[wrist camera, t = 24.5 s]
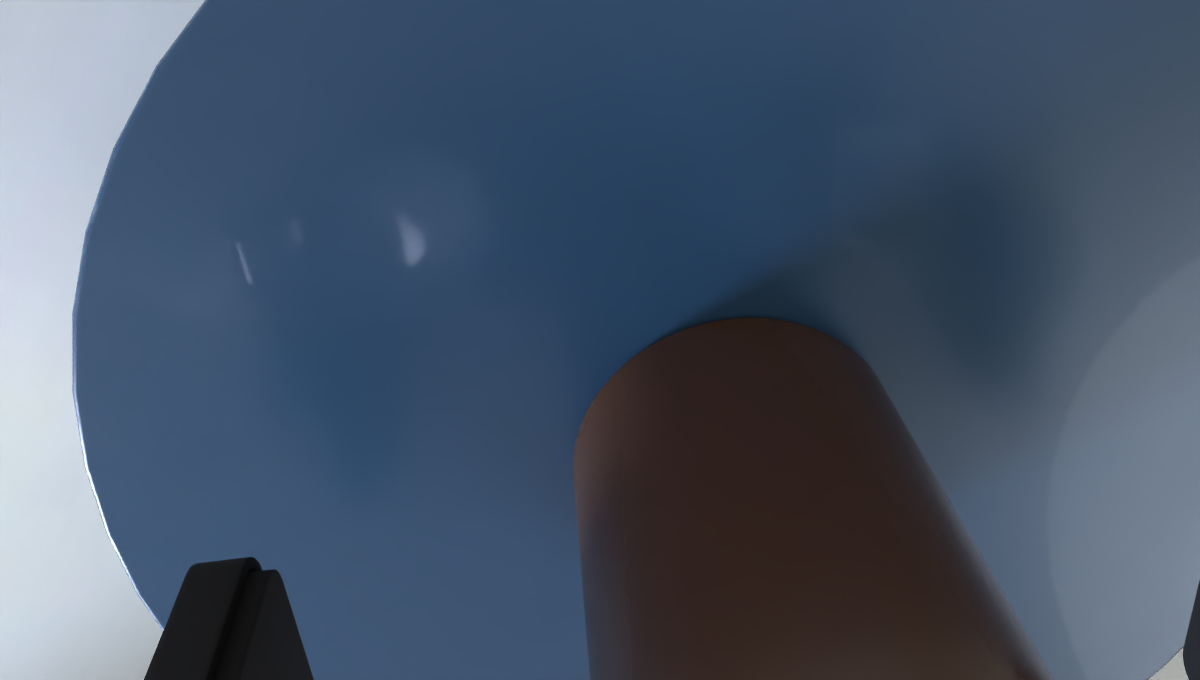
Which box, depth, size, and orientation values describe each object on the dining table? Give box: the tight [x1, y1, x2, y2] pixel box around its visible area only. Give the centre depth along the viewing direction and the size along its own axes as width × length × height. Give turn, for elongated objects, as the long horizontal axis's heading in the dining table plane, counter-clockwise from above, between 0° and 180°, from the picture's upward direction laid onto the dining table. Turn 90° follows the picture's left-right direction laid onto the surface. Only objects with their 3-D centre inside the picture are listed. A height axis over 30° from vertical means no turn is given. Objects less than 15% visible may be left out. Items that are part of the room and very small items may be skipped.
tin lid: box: [72, 0, 1200, 680], centre depth 10 cm, size 15×15×7 cm
